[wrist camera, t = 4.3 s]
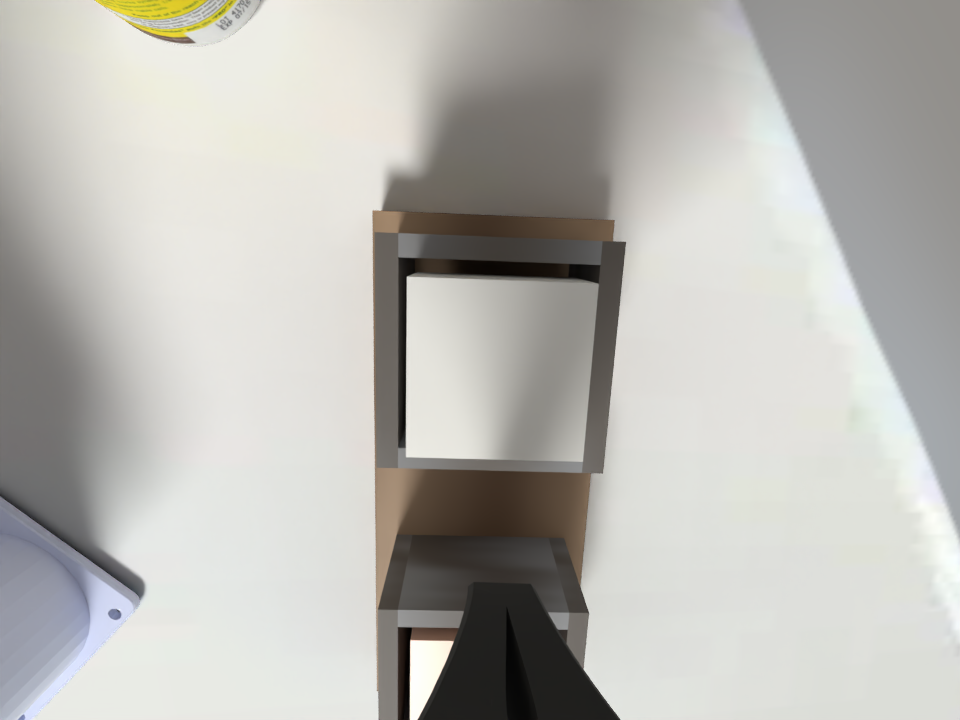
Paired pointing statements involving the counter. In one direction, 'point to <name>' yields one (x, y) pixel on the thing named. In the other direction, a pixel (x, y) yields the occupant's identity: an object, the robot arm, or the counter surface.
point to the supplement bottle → (185, 18)
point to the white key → (498, 366)
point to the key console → (478, 482)
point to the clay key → (427, 663)
